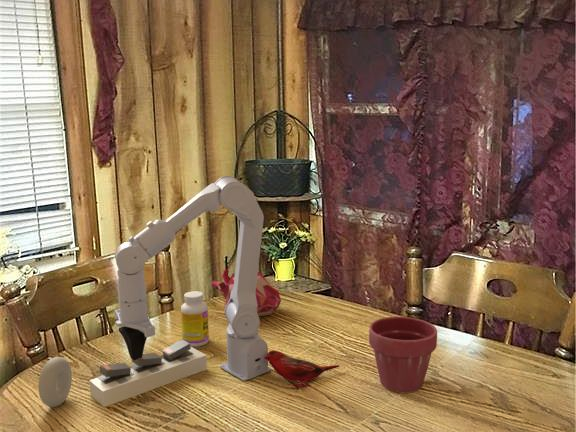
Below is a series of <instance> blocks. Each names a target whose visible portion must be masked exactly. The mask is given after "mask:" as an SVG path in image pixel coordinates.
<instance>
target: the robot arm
mask: <svg viewBox="0 0 576 432" xmlns="http://www.w3.org/2000/svg"><path fill="white" fill-rule="evenodd" d="M221 206H223V208H225V209H226V210H228V211H230V213H232V214H234V215H235V216H236V217H237V218H238V220H239V221H240V222H239V232H238V241H237V250H236V260H235V261H236V262H235V269H234V273H235V278H234V287H233V290H232V291H231V293H230V299H229V302H228V303H227V305H226V307H225V309H224V316H225V318H226V320H227V321H228V322H229V323H228V326H227V327H226V330H225V331H226V332H225V333H226V336H225V337H226V350H227V351H226V356H227V359H226V361H227V362H225V363H222V364H220V365H219V368H221V369H222V370H223V371H225V372H227V373H228V374H231V375H232V376H234V377H236V378H238V379H239V380H241V381H244V382H245V381H248V380H251V379H253V378H256V377H257V376H261V375H263V374H265V373H268V372H270V371H272V367H270V366H269V361H268V360H267V359H263V358H264V357H265V356H267V354H268V353H269V349H268V346H269V345H268V344H267V342H266V340H264V339H263V338H262V337H261V335H260V332H259V328H260V324H261V321H260V316H258V314H257V300H256V294H255V292H256V283H257V274H258V272H259V263H260V254H261V246H262V237H263V227H264V221H265V220H264V219H265V217H264V213H263V211H262V209H261V207H260V204H259V202H258V201H257V198H256V197H255V195H254V192H253V191H252V190H251V189H250V188H249V187H248V186H247V185H246V184H244V183H243V182H240V180H238V179H237V178H236V177H234V176H230V175H224V176H221V177H219V178H218V179H217V180H216V181H215V182H211V183H210V184H209V185H207V186H205V188H203V189H202V190H201V191H200V192H198V193H197V194H196V195H195V196H194V197H192V198H191V199H190V200H189V201H187V202H186V203H185V204H184V205H182V207H181V208H179V209H178V210H177V211H176V212H174V213H173V214H172V215H171V216H170V217H168V218H167V219H156V220H155V221H152V220H150V221H149V222H147V223H146V226H147V227H145V228H144V229H143V230H142V231H140V232H139V233H137V234H136V235H135V236H130V237H129V238H128V241H125V242H123V243H120V245H119V246H118V247H117V248H116V251H115V254H114V258H115V262H116V263H115V264H116V266H117V271H116V272H117V273H116V274H117V280H116V281H117V292H118V295H117V296H118V306H119V308H118V309H115V310H114V319H116V321H115V322H114V325H116V326H117V327H118V332H119V334H120V335H121V336H122V338H123V340H124V343H125V346H126V348H127V351H128V354H129V358H130V360H131V361H132V360H137V359H139V358H142V355H143V354H144V349H145V345H146V343H147V339H148V338H149V337H153V336H156V328H155V326H154V325H153V323H152V321H151V319H150V317H149V315H148V303H147V302H148V301H147V289H146V287H147V285H146V276H145V273H144V268H145V265H146V262H147V260H151V259H153V258H154V257H155V256H156V255H157V254H159V253H160V252H161V251H162V250H164V249H165V248H166V247H168V246H169V245H170V244H172V243H173V242H174V241H175V236H176V233H177V232H178V231H179V230H181V229H182V228H184V227H185V226H187V225H188V224H190V223H191V222H192V221H194V220H196V219H198V217H200V216H201V215H202V214H205V213H206V212H222V208H221Z"/></svg>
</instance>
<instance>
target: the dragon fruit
mask: <svg viewBox="0 0 576 432" xmlns="http://www.w3.org/2000/svg"><path fill="white" fill-rule="evenodd" d="M229 273H230V271H229V269H228V268H225V269H223V271H222V275H221V277H222V279H223V282H222V281H217V280H213V281H211V285H212V286H211V287H212V288H213V289H215V290H216V289H217V290H218V291H219V292H221V293H222V296H223V298H224V299H225V300H224V301H225V303H224V306H223V308H224V310H225V307H226V305H227V303H228V302H229V299H230V293H231V291H232V290H233V287H234V278H235V272H232V273H231V276H229ZM255 294H256V300H257V314H258V317H264V316H269V315H272V314H273V313H274V312H275V311H276V310H277V309H278V308H279V307H280V305H281V302H282V299H281V295H280V292H279V290H278V289H276V288H274V287H273V286H272V285H271V284H270V283H269V281H267V279H266V278H265V277H264V276H263V274H261V272H259V271H258V274H257V283H256V292H255Z"/></svg>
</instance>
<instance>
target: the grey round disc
mask: <svg viewBox="0 0 576 432" xmlns="http://www.w3.org/2000/svg"><path fill="white" fill-rule="evenodd" d="M72 376H73V372H72V367H71V366H70V363H69V361H68V360H67V359H66V358H64V357H60V356H55V357H52V358H50V359H49V360H47V362H45V364H44V365H43V367H42V369H41V370H40V375H39V377H38V378H39V379H38V385H37V386H38V395H39V399H40V400H41V402H42V403H43V404H44V405H45V406H46V407H50V408H54V407H55V408H56V407H59V406H60V405H62V404H63V403H64V402H65V400H66V399H67V398H68V396H69V393H70V391H71V388H72V380H73V377H72Z"/></svg>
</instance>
